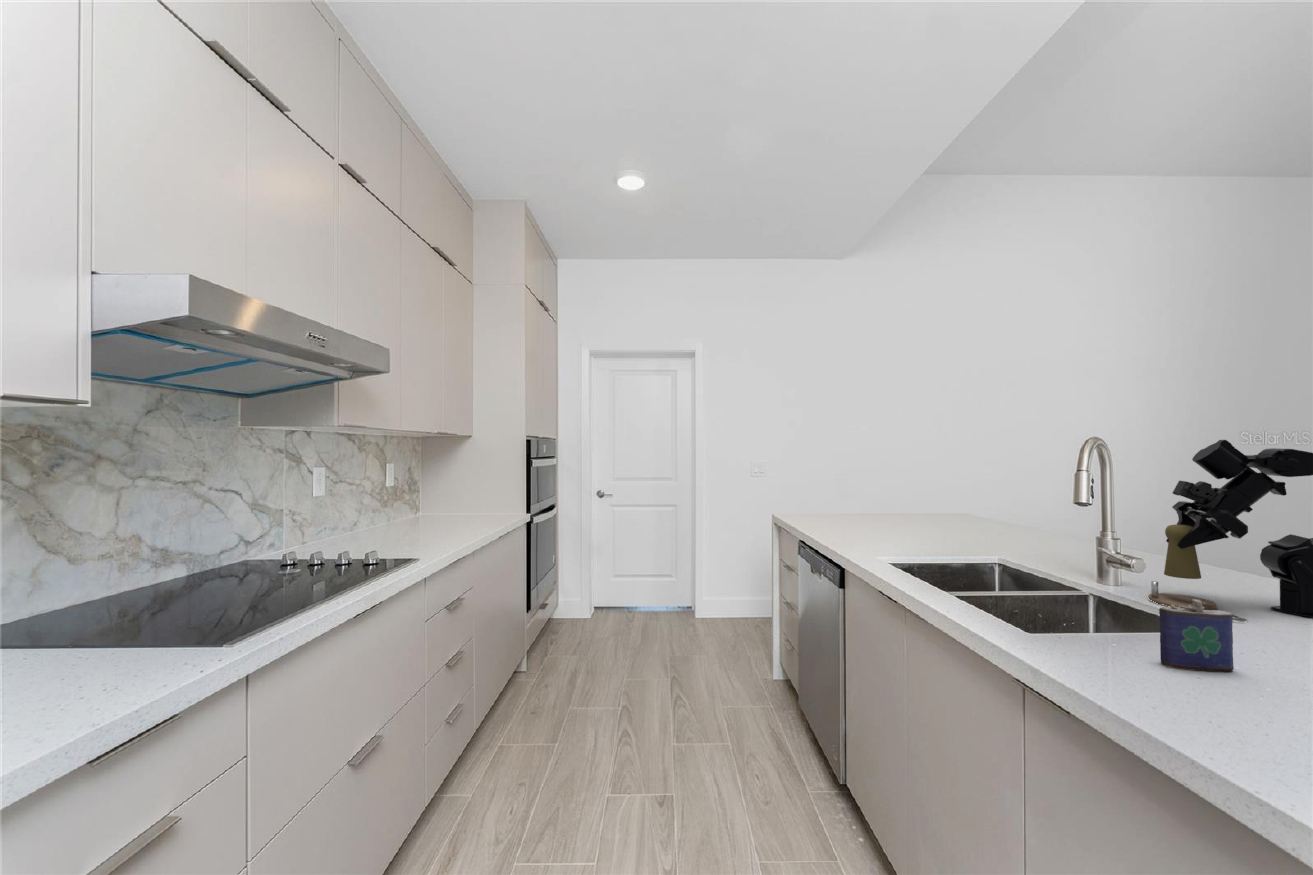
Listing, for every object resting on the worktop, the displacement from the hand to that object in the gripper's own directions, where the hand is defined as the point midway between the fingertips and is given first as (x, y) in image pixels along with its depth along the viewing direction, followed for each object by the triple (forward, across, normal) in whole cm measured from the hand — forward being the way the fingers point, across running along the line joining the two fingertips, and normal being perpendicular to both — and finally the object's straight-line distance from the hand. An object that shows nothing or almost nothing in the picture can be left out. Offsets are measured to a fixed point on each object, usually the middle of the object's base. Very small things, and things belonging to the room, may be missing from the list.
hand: (1173, 544), depth 126 cm
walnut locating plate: (+8, 0, +10) cm, 13 cm away
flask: (+18, +43, 0) cm, 47 cm away
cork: (+4, 0, +6) cm, 7 cm away
